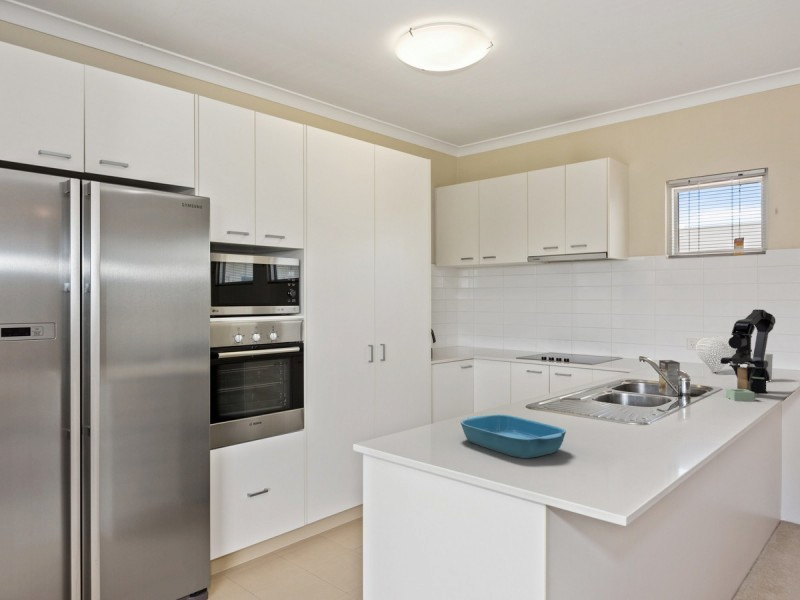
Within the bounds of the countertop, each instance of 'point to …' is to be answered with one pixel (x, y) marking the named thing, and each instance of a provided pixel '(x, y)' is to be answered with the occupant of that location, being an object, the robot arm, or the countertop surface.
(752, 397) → the socket
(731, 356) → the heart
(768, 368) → the skincare box
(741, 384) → the peg
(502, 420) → the casserole dish
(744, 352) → the robot arm
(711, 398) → the countertop surface
